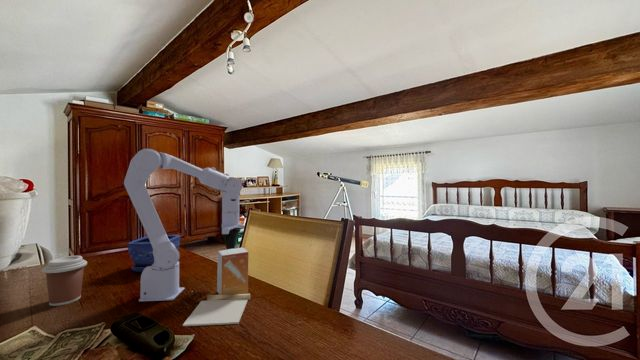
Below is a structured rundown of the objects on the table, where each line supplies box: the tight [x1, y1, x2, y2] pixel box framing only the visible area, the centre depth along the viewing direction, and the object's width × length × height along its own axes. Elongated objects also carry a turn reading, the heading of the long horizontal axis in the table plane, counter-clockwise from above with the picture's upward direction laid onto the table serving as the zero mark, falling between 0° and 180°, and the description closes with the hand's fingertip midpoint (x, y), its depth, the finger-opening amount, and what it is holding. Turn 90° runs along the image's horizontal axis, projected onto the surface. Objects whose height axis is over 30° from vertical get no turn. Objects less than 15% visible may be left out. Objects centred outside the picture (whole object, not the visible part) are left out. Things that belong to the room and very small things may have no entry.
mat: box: [182, 299, 249, 327], centre depth 67 cm, size 13×12×1 cm
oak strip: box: [206, 293, 251, 301], centre depth 73 cm, size 12×1×2 cm, turn 96°
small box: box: [216, 247, 249, 295], centre depth 78 cm, size 8×6×13 cm
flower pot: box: [127, 234, 181, 273], centre depth 100 cm, size 13×13×12 cm
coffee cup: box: [41, 255, 88, 307], centre depth 73 cm, size 9×9×12 cm
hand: (230, 250), depth 88 cm, fingers closed
